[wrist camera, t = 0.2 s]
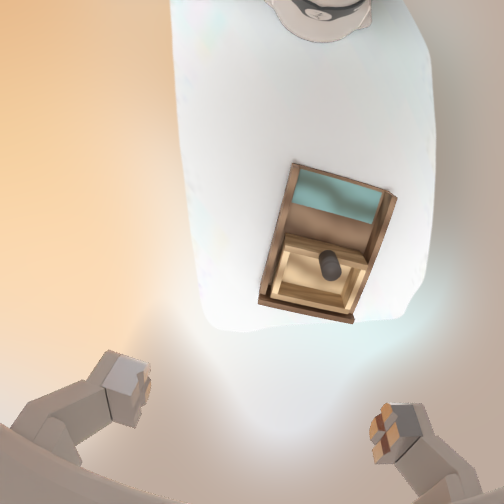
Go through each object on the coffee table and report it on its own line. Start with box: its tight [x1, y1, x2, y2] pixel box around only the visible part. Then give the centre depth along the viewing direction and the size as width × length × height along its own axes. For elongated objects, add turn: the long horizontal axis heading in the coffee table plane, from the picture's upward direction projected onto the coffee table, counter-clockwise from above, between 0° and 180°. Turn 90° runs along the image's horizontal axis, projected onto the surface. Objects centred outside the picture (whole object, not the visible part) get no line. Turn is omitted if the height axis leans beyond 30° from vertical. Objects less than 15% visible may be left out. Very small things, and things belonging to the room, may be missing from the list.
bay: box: [258, 163, 397, 324], centre depth 54 cm, size 24×18×7 cm
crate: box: [270, 232, 368, 314], centre depth 53 cm, size 11×14×11 cm
